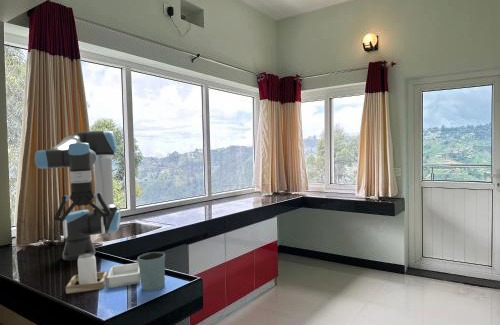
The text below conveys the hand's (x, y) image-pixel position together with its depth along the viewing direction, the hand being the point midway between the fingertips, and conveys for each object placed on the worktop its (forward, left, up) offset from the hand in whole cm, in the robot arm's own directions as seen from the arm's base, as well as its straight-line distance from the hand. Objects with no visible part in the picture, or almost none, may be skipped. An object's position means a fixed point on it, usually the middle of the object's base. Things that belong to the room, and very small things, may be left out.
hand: (84, 235), depth 132 cm
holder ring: (0, 0, -20) cm, 20 cm away
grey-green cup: (+12, +25, -20) cm, 34 cm away
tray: (0, +14, -20) cm, 24 cm away
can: (0, 0, -20) cm, 20 cm away
